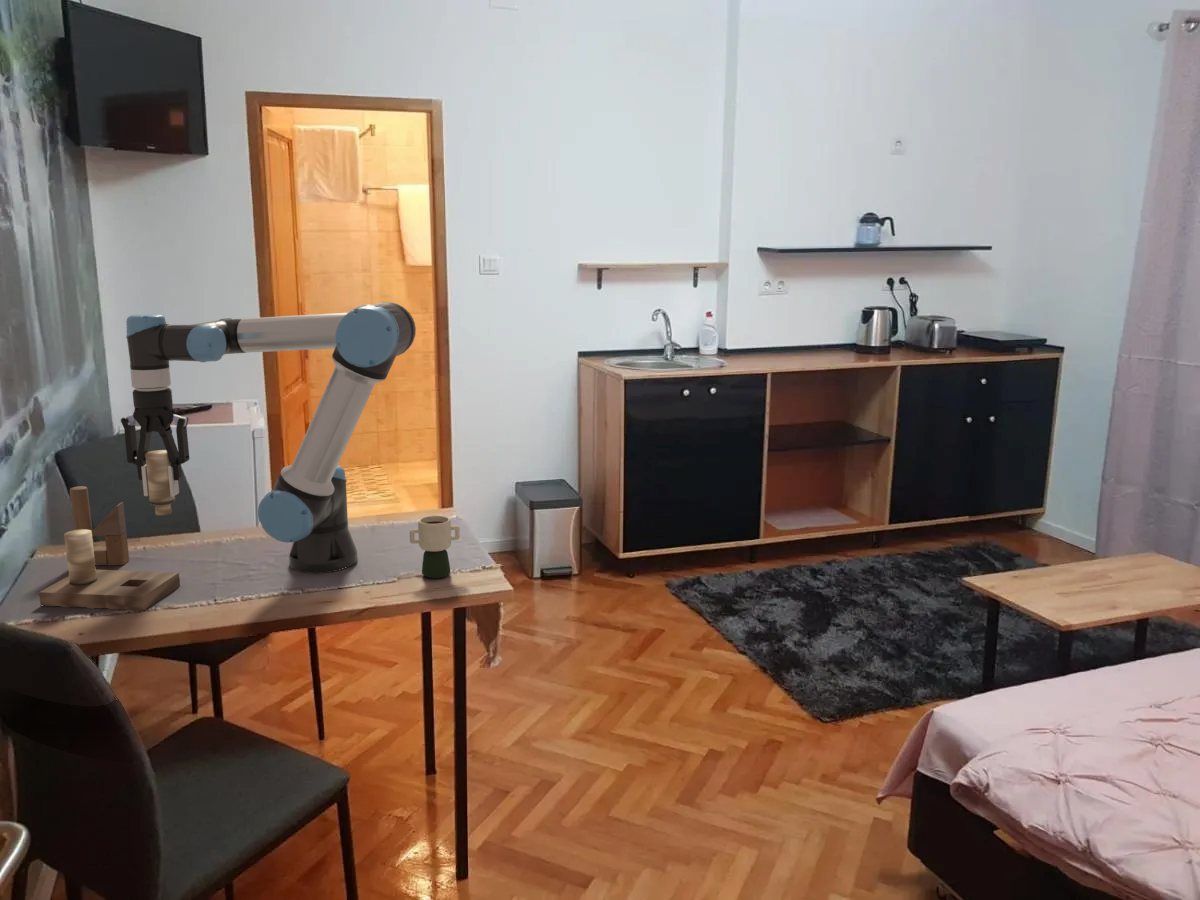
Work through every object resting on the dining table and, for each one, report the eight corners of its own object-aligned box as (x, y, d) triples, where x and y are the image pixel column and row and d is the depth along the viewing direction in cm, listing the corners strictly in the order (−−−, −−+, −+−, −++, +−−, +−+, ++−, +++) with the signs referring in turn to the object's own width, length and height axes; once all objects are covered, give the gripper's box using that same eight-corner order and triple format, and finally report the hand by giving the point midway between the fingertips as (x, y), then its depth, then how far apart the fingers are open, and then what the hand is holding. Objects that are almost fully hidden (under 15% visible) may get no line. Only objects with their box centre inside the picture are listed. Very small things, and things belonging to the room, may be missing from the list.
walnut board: (180, 585, 207) (174, 525, 204) (144, 610, 193) (137, 546, 190) (82, 582, 208) (75, 522, 206) (40, 606, 195) (32, 542, 192)
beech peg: (180, 510, 211) (174, 450, 209) (170, 516, 206) (164, 455, 204) (157, 509, 211) (151, 450, 209) (146, 516, 206) (140, 455, 204)
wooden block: (123, 565, 219) (115, 489, 215) (74, 566, 218) (65, 490, 214) (130, 560, 223) (122, 485, 219) (81, 561, 222) (72, 485, 218)
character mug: (458, 568, 219) (456, 513, 216) (463, 578, 212) (461, 522, 209) (409, 573, 215) (407, 517, 213) (413, 583, 209) (411, 526, 206)
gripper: (201, 385, 207) (210, 490, 212) (117, 384, 207) (128, 489, 212) (187, 391, 199) (196, 499, 204) (100, 390, 199) (111, 498, 204)
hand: (161, 494), depth 208 cm, fingers closed on beech peg, 5 cm apart
